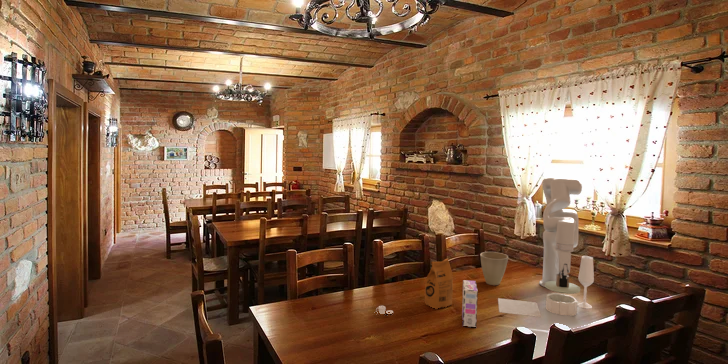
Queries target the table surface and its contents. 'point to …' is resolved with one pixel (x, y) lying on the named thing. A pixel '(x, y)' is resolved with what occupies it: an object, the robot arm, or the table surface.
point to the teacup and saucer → (383, 310)
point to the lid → (555, 287)
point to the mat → (518, 307)
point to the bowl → (561, 304)
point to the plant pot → (493, 266)
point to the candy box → (469, 303)
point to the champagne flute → (586, 278)
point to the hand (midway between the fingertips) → (562, 285)
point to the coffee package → (439, 285)
